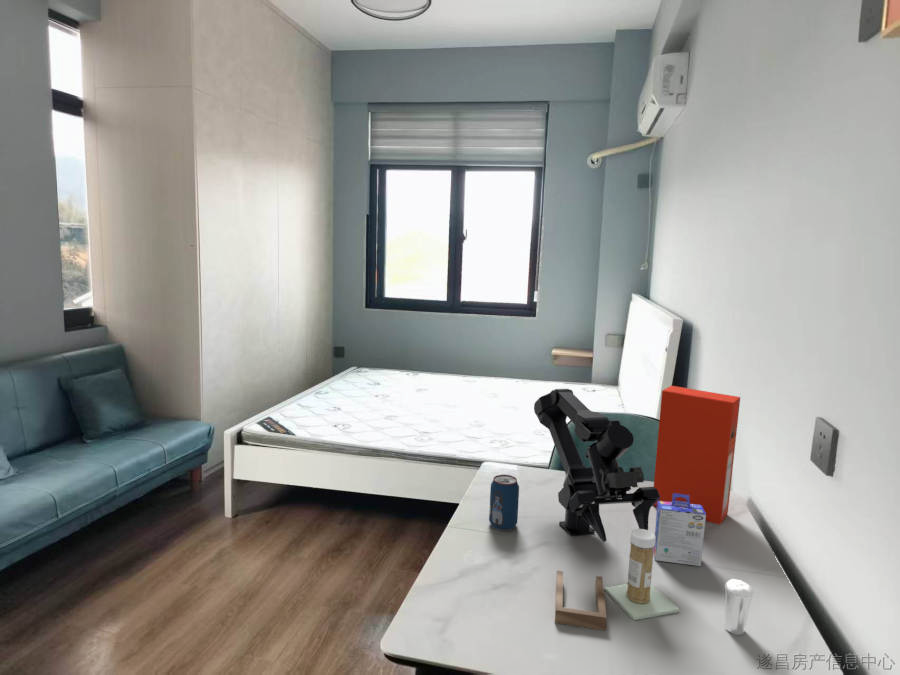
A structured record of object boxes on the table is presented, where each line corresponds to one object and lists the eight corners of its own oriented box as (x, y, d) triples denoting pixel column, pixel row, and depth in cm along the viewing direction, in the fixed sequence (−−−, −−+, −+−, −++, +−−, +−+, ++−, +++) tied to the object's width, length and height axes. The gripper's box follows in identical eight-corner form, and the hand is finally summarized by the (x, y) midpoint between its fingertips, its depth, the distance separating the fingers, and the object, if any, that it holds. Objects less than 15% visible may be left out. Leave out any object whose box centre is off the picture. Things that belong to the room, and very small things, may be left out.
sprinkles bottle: (653, 604, 114) (660, 539, 112) (631, 604, 113) (636, 539, 111) (643, 590, 118) (649, 527, 116) (622, 591, 118) (627, 527, 116)
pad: (604, 590, 119) (604, 587, 119) (646, 583, 122) (646, 580, 122) (634, 620, 110) (634, 617, 109) (678, 611, 113) (679, 608, 113)
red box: (719, 525, 149) (733, 402, 144) (651, 505, 160) (662, 390, 155) (727, 515, 156) (740, 396, 151) (661, 496, 166) (671, 385, 161)
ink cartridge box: (697, 554, 134) (703, 494, 132) (702, 567, 129) (709, 504, 127) (651, 549, 136) (657, 489, 134) (655, 561, 131) (660, 499, 129)
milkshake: (711, 621, 110) (717, 572, 108) (738, 621, 110) (744, 571, 109) (724, 637, 105) (730, 586, 104) (753, 637, 106) (759, 585, 104)
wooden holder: (556, 581, 121) (557, 570, 121) (601, 588, 120) (602, 576, 119) (554, 622, 108) (555, 610, 108) (605, 630, 106) (606, 617, 106)
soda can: (515, 519, 149) (518, 474, 147) (518, 532, 142) (520, 485, 140) (488, 518, 149) (490, 473, 147) (489, 531, 142) (491, 484, 140)
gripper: (578, 454, 122) (598, 530, 113) (660, 451, 126) (685, 524, 117) (561, 475, 131) (578, 547, 122) (637, 472, 135) (659, 541, 126)
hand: (625, 539), depth 122 cm, fingers open, 9 cm apart
